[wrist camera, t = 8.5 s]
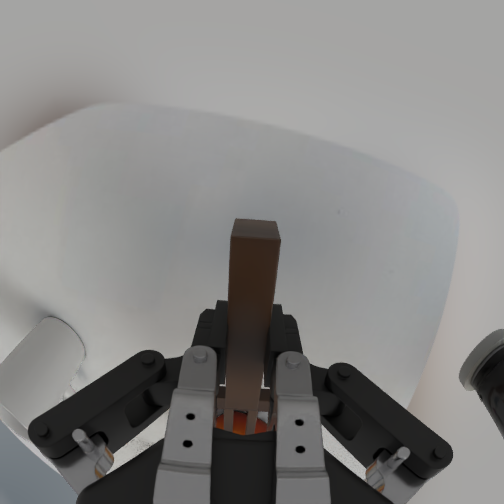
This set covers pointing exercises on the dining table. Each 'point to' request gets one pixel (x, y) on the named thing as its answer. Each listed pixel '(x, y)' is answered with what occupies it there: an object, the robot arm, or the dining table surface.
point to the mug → (38, 373)
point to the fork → (249, 318)
